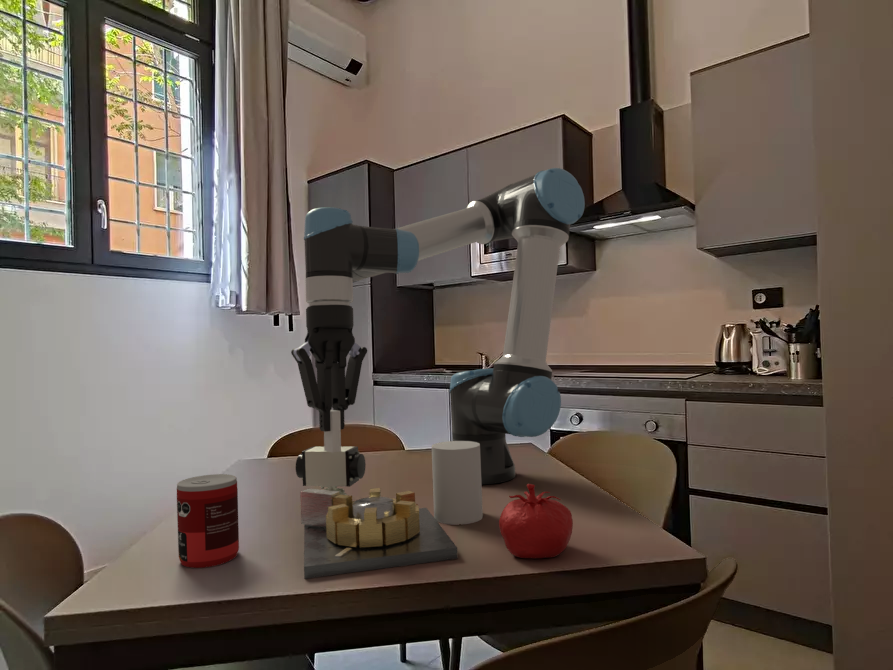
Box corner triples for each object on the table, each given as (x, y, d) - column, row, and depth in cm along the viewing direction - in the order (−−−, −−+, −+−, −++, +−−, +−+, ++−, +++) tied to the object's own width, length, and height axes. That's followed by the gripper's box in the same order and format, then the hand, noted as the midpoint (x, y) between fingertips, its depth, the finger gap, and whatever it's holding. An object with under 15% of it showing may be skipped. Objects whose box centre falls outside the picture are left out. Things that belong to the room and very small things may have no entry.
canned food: (190, 550, 83) (188, 475, 83) (245, 546, 84) (243, 472, 84) (169, 571, 76) (166, 488, 76) (230, 566, 76) (228, 484, 77)
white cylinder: (488, 511, 97) (485, 441, 98) (474, 526, 90) (472, 450, 90) (443, 508, 100) (441, 440, 100) (427, 522, 92) (424, 448, 93)
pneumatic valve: (358, 513, 99) (356, 444, 99) (296, 512, 101) (294, 444, 101) (369, 504, 104) (366, 439, 104) (309, 503, 106) (307, 439, 107)
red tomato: (575, 568, 72) (573, 495, 72) (496, 564, 74) (494, 493, 74) (571, 539, 82) (570, 475, 82) (502, 537, 84) (501, 474, 84)
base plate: (426, 516, 96) (425, 480, 96) (457, 558, 76) (455, 513, 76) (304, 530, 91) (303, 492, 91) (304, 578, 71) (302, 530, 71)
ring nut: (435, 522, 87) (433, 489, 87) (388, 552, 74) (387, 513, 75) (331, 510, 95) (330, 480, 95) (275, 535, 83) (274, 501, 83)
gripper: (351, 308, 99) (354, 443, 98) (281, 305, 90) (284, 453, 90) (376, 304, 94) (379, 448, 93) (304, 301, 85) (307, 459, 84)
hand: (332, 450), depth 91 cm, fingers closed
